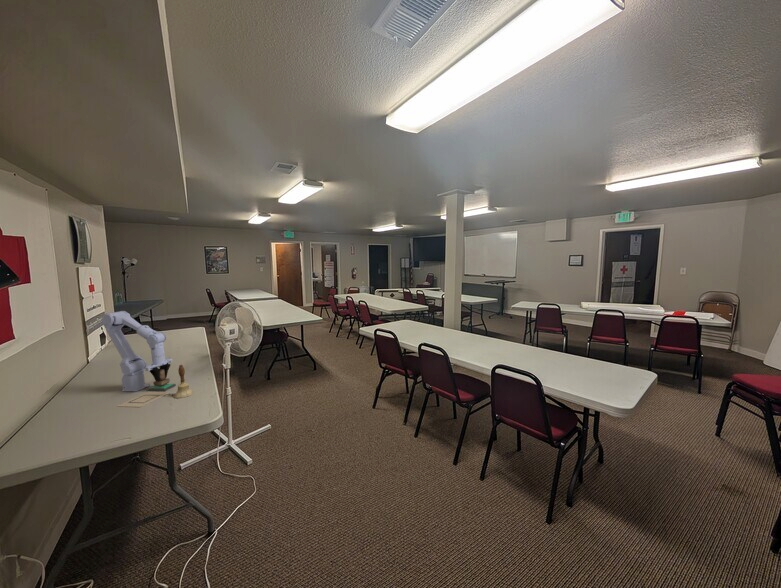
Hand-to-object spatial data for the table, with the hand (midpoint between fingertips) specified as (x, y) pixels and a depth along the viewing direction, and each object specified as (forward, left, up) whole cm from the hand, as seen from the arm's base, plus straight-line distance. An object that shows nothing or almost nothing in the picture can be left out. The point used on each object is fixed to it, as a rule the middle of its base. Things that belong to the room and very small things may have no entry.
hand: (161, 379), depth 162 cm
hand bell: (+20, -7, -6) cm, 22 cm away
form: (+3, -13, -5) cm, 14 cm away
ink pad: (0, 0, -5) cm, 5 cm away
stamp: (0, 0, -3) cm, 3 cm away
